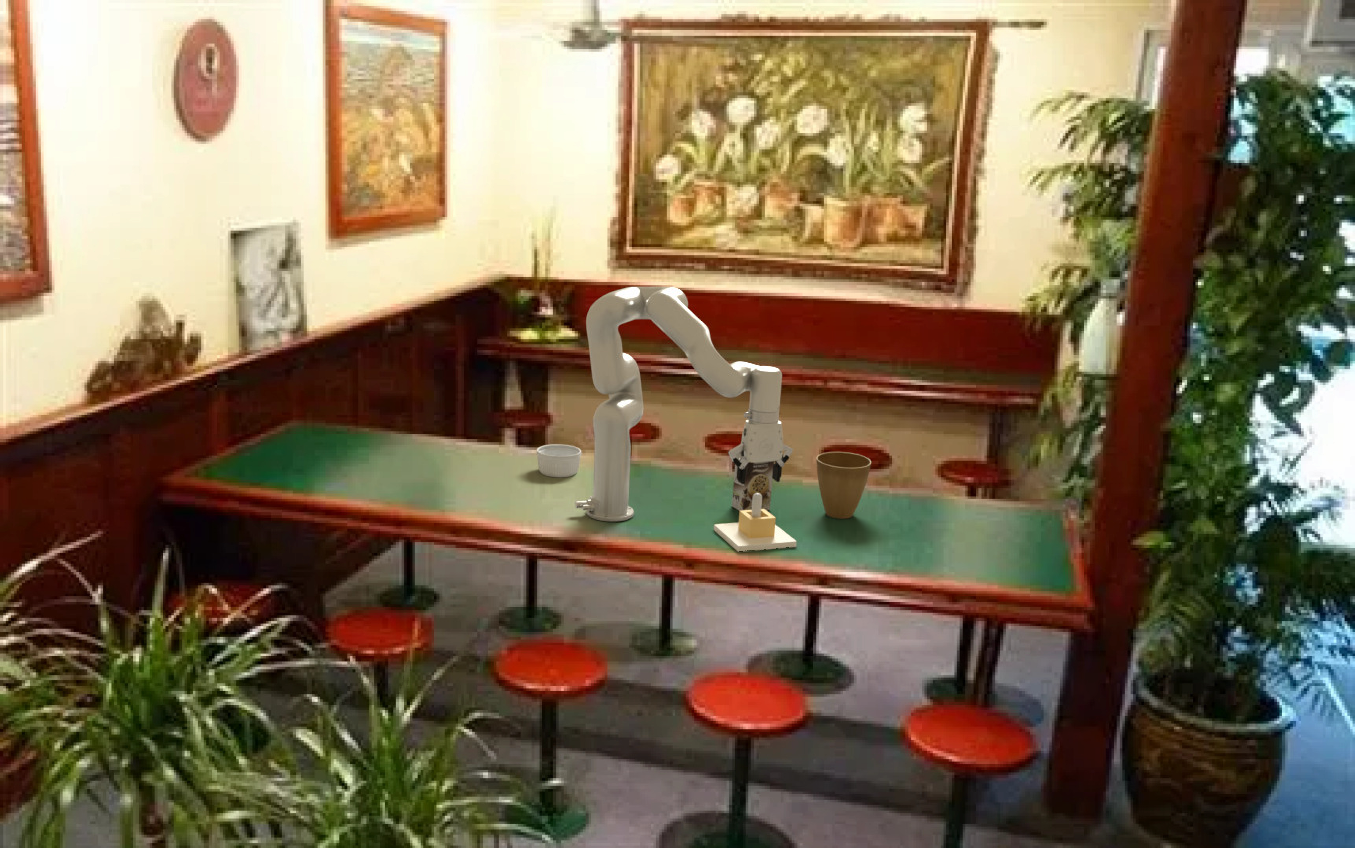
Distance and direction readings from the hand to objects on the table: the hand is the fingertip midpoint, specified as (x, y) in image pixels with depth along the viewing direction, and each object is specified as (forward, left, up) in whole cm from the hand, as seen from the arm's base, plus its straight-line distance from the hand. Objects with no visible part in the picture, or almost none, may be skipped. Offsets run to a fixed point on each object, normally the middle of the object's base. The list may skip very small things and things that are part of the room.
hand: (758, 481), depth 281 cm
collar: (0, 0, -14) cm, 14 cm away
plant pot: (+31, +12, -16) cm, 37 cm away
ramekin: (-35, +64, -16) cm, 75 cm away
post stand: (0, 0, -15) cm, 15 cm away
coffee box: (+9, +22, -16) cm, 28 cm away
